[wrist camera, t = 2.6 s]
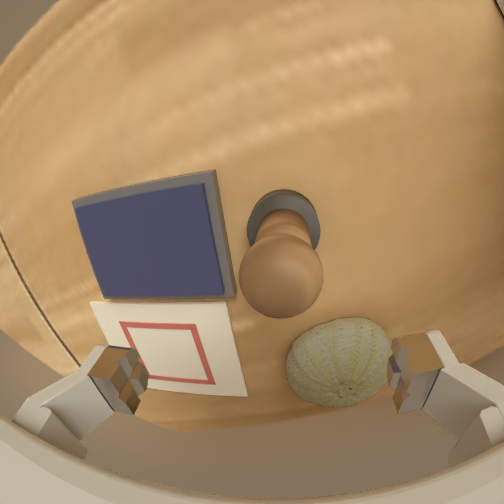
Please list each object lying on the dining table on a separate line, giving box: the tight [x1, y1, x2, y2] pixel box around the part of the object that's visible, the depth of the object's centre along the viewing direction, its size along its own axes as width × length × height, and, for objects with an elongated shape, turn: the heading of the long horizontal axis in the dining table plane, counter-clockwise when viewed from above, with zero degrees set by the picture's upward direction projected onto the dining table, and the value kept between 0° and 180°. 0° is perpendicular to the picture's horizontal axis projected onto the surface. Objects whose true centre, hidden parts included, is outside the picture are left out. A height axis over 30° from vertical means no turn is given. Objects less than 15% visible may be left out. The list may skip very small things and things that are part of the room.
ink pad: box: [72, 170, 237, 299], centre depth 20 cm, size 12×9×2 cm
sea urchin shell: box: [286, 316, 393, 407], centre depth 21 cm, size 9×8×8 cm
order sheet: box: [90, 301, 248, 397], centre depth 25 cm, size 14×12×1 cm
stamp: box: [239, 189, 323, 318], centre depth 15 cm, size 4×4×9 cm
